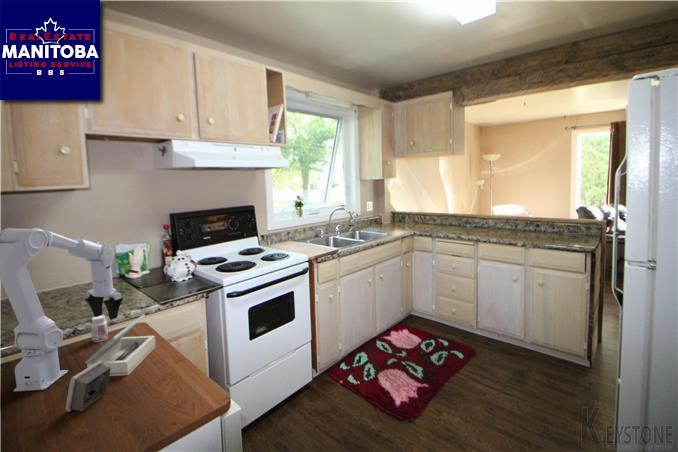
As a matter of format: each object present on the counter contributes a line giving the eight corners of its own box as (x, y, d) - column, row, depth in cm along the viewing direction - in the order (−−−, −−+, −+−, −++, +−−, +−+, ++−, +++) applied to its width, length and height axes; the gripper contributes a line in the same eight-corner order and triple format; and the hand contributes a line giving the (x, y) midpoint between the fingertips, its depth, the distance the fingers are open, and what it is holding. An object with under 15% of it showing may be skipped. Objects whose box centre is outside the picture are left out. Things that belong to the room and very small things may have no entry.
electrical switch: (95, 390, 92) (95, 358, 91) (113, 393, 92) (113, 360, 91) (64, 413, 83) (63, 377, 82) (83, 416, 83) (83, 380, 82)
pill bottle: (100, 343, 121) (97, 320, 120) (89, 342, 122) (86, 319, 121) (111, 337, 126) (109, 315, 125) (100, 336, 127) (98, 314, 126)
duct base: (128, 375, 100) (126, 362, 99) (88, 377, 99) (87, 364, 99) (155, 346, 118) (154, 335, 117) (122, 348, 117) (121, 337, 116)
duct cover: (121, 337, 116) (119, 335, 116) (145, 315, 116) (143, 313, 116) (87, 364, 98) (84, 361, 98) (115, 339, 98) (112, 336, 98)
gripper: (128, 278, 119) (131, 315, 120) (99, 275, 124) (102, 311, 125) (108, 283, 112) (111, 323, 114) (78, 279, 117) (82, 318, 119)
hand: (105, 317), depth 119 cm, fingers open, 7 cm apart
